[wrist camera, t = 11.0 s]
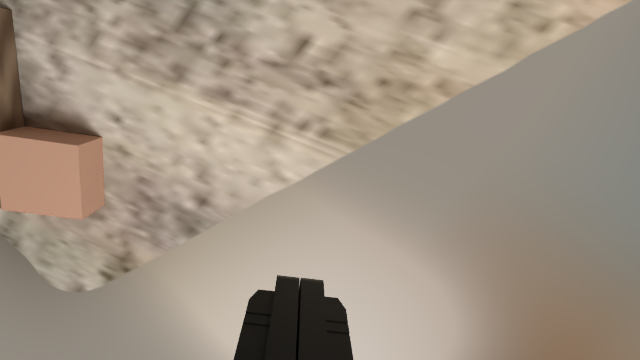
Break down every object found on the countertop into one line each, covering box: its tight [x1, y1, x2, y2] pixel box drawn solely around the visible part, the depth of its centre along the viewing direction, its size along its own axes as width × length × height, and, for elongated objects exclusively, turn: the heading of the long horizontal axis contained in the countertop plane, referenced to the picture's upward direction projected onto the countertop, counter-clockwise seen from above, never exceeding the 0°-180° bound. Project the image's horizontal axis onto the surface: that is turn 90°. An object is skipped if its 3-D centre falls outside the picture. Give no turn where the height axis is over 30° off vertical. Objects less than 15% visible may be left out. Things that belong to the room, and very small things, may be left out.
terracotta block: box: [0, 126, 105, 220], centre depth 38 cm, size 8×8×4 cm
